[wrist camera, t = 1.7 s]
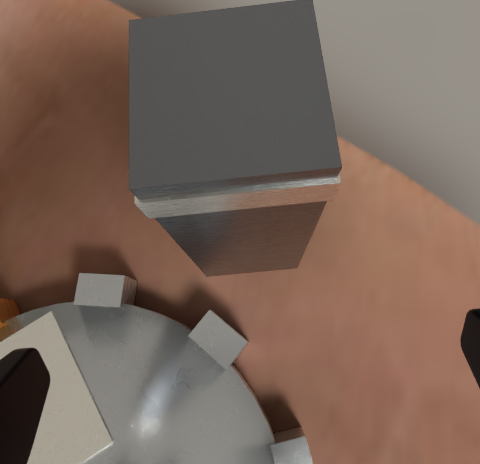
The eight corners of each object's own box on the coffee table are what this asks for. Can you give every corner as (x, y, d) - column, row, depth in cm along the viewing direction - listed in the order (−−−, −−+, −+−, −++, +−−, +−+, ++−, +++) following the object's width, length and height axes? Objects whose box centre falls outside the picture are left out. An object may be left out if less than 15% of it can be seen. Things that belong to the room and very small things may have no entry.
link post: (299, 269, 21) (346, 170, 9) (205, 278, 21) (124, 193, 9) (287, 182, 22) (315, -6, 10) (200, 191, 22) (125, 17, 10)
